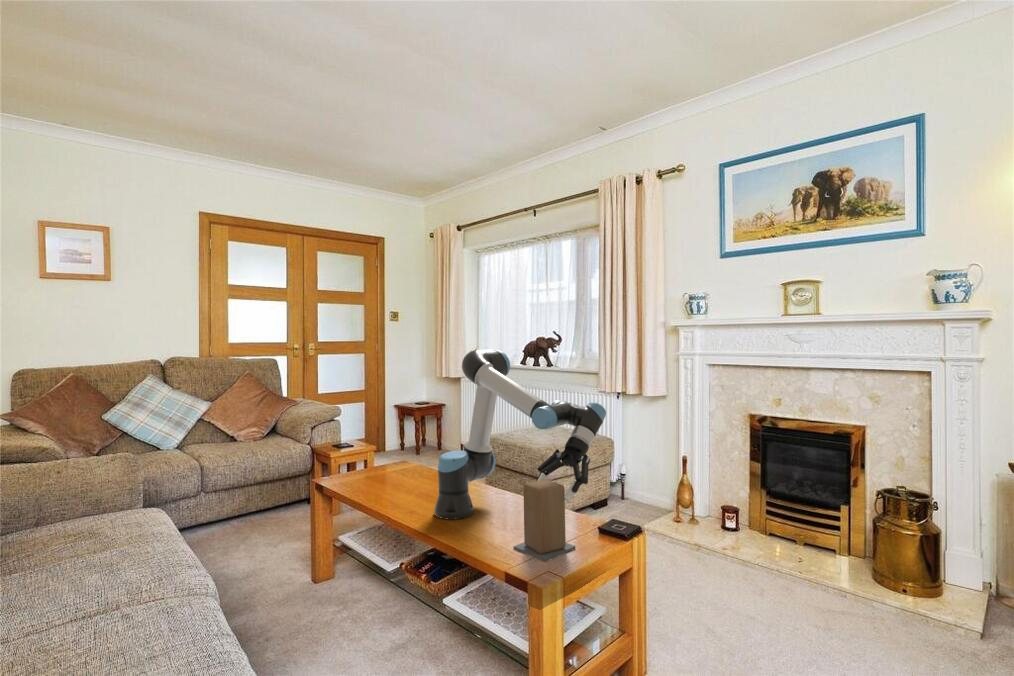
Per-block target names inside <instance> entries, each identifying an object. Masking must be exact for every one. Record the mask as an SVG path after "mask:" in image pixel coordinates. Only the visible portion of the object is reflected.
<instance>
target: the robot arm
mask: <svg viewBox="0 0 1014 676" xmlns="http://www.w3.org/2000/svg"><path fill="white" fill-rule="evenodd" d="M461 369H462V372H463V375H464V376H465V378H467V379H468V380H470V382H472V383H473V384H475V385H476V390H475V398H474V404H473V411H472V417H471V423H470V424H471V425H470V431H469V438H468V441H467V442H466V443H464V446H463V447H464V448H463V450H460V449H459V450H456V449H455V450H452V451H451V450H450V451H447V452H444V453H442V454H441V455H440V456H439V457H438V463H437V464H438V465H437V471H438V472H437V475H438V496H437V499H436V503H435V507H434V510H433V511H434V515H435V514H436V515H437V516H439V517H442V518H448V519H447V520H456V519H455V518H462V519H465V518H464V517H466V518H468V517H467V516H469V517H471V516H472V515H473V514H474V505H473V502H472V499H471V496H470V493H469V483H470V482H473V481H475V480H480V479H484V478H486V477H488V476H490V474H491V473H493V472H494V470H495V467H496V463H497V461H496V456H495V455H494V454H495V453H494V452H493V446H491V444H490V441H491V436H492V435H491V434H492V427H493V422H494V416H495V409H496V403H497V397H499V398H500V399H502V400H503V401H505V402H506V403H508V404H509V405H511V406H512V407H514V408H515V409H517V410H518V411H520V412H521V413H522V414H524V415H525V416H527V417H529V418H530V419H531V421H532V424H533V425H534V427H536V428H537V429H538V430H549V429H553V428H556V427H560V426H563V425H569V426H574V429H573V430H572V432H571V433H570V436H569V438H568V440H567V441H566V443H565V444H564V450H562V451H560V450H559V449H555V451H554V452H553V454H551V455H550V456H549V457H548V458H547V459H545V461H544V462H543V463H541V464H540V465H539V466H538V467H537V470H538V472H539V474H538V476H537V478H536V480H535V481H540V480H546V479H547V480H548V476H549V475H550V474H551V473H553V472H555V471H556V470H558V469H559V468H561V467H570V468H572V469H573V470H572V471H573V474H574V479H572V481H571V483H570V485H569V486H568V489H567V491H566V493H565V496H564V498H565V502H567V503H568V504H570V503H571V501H572V500H573V497H574V495H575V494H576V493H578V490H579V489H580V487H581V486H582V485H583V484H584V485H587V484H589V465H590V462H591V458H590V457H589V456H588V454H587V453H588V451H589V448H590V446H592V443H593V442H594V439H595V437H596V435H597V434H598V432H599V430H600V428H601V426H602V425H603V423H604V420H605V418H606V416H607V410H606V408H605V407H604V406H603V405H601V404H600V403H598V402H594V401H591V402H588V403H587V405H586V406H583V405H578V404H575V403H572V402H568V401H565V400H559V399H556V400H554V401H553V402H552V403H551V404H549V403H548V402H546V401H544V400H543V399H542V398H540V397H538V396H537V395H535V394H534V393H532V392H530V391H529V390H527V389H526V388H525V387H523V386H522V385H520V384H518V383H517V382H515V381H513V380H512V379H510V378H509V377H508V376H507V375H509V373H510V370H511V361H510V359H509V357H508V355H507V354H506V353H505V352H504V351H502V350H499V349H493V348H491V349H474V350H471V351H469V352H467V353H466V354H465V356H464V357H463V359H462V362H461ZM579 463H581V469H580V464H579ZM470 515H471V516H470Z"/></svg>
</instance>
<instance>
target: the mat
mask: <svg viewBox="0 0 1014 676" xmlns="http://www.w3.org/2000/svg"><path fill="white" fill-rule="evenodd" d="M574 548H576V545H573V544H570V543H567V542H566V546H565V548H563V549H559V550H555V551H551V552H547V553H544V554H540V553H538V552H536V551H535V550H533V549H531V548H530V547H528V546H526V545H525V542H524V541H523V542H521V543H518V544H516V545H513V550H514V551H517V552H520V553H522V554H525V555H527V556H530V557H532V558H535V559H538V560H541V561H543V562H548V560H549V561H550V559H551V560H553V559H555V558H557V556H558V557H560V556H561V554H562V555H564V554H567V553H568V551H569V552H571V551H573V550H572V549H574ZM570 550H571V551H570ZM574 550H575V549H574ZM566 552H567V553H566ZM559 555H560V556H559Z"/></svg>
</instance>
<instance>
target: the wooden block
mask: <svg viewBox="0 0 1014 676" xmlns="http://www.w3.org/2000/svg"><path fill="white" fill-rule="evenodd" d="M522 488H523V490H522V491H523V533H524V534H523V536H524V537H523V538H524V539H523V540H524V541H523V542H525V545H526V546H528V547H530V548H531V549H533V550H535V551H536V552H538V553H540V554H544V553H547V552H551V551H555V550H559V549H563V548H565V546H566V543H567V541H566V540H567V539H566V500H565V498H564V496H565V494H566V493H565V486H564V485H563V484H561V483H558V482H555V481H552V480H550V479H548V478H547V479H546V480H540V481H536V480H535V481H530V482H529V481H528V482H525V483H524V484H523V487H522Z"/></svg>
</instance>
